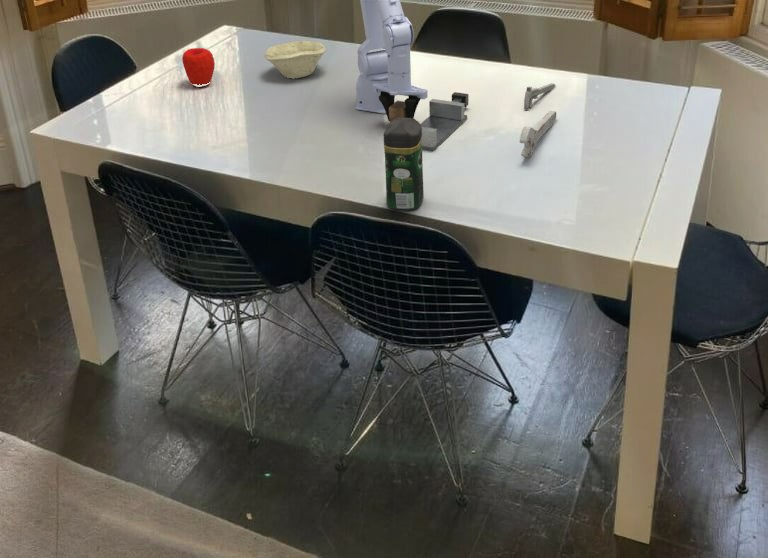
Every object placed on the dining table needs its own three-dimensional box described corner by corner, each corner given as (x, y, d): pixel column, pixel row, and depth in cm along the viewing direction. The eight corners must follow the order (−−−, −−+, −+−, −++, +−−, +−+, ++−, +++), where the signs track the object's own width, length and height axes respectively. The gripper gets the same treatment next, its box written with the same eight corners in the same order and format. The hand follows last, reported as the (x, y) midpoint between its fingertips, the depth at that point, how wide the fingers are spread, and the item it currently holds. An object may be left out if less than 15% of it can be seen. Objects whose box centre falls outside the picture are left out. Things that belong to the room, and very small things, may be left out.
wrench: (555, 131, 241) (524, 165, 216) (548, 130, 242) (517, 164, 217) (558, 100, 238) (527, 131, 213) (551, 99, 238) (519, 130, 213)
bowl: (290, 98, 272) (251, 65, 270) (315, 73, 285) (278, 41, 284) (313, 66, 263) (273, 32, 261) (338, 42, 276) (300, 9, 274)
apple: (221, 80, 274) (216, 44, 269) (210, 91, 267) (205, 54, 261) (193, 79, 276) (188, 43, 270) (181, 89, 269) (175, 53, 263)
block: (389, 129, 239) (388, 107, 235) (398, 122, 242) (397, 100, 239) (403, 131, 237) (403, 109, 234) (412, 124, 241) (411, 102, 238)
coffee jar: (391, 191, 208) (388, 113, 199) (426, 193, 207) (424, 114, 197) (382, 211, 200) (379, 131, 191) (418, 213, 199) (417, 132, 189)
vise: (400, 145, 229) (399, 126, 227) (435, 114, 246) (435, 96, 243) (433, 151, 226) (433, 132, 223) (467, 118, 242) (467, 100, 240)
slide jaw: (429, 116, 242) (429, 101, 240) (445, 101, 251) (445, 87, 249) (461, 120, 239) (461, 106, 237) (477, 105, 247) (477, 91, 245)
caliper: (527, 112, 246) (528, 89, 242) (523, 111, 246) (524, 88, 243) (556, 87, 260) (557, 65, 257) (552, 86, 261) (553, 64, 258)
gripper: (366, 72, 232) (368, 123, 239) (419, 79, 226) (419, 131, 233) (378, 63, 237) (380, 113, 244) (430, 70, 231) (431, 121, 238)
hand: (400, 121), depth 239 cm, fingers open, 5 cm apart
